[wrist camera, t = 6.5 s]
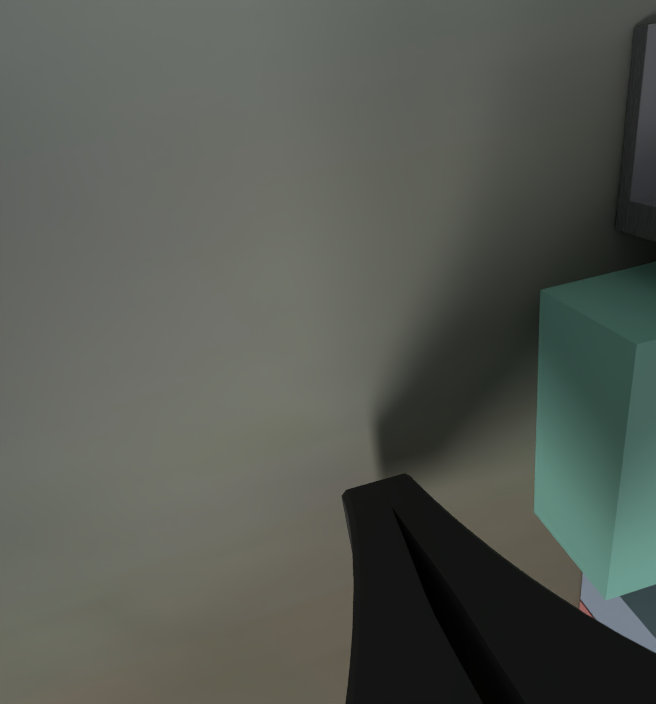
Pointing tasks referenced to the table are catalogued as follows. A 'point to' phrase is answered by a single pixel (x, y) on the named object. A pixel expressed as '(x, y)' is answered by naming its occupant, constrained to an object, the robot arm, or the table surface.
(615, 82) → the table surface
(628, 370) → the green paperback
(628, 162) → the bookend
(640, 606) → the book row
